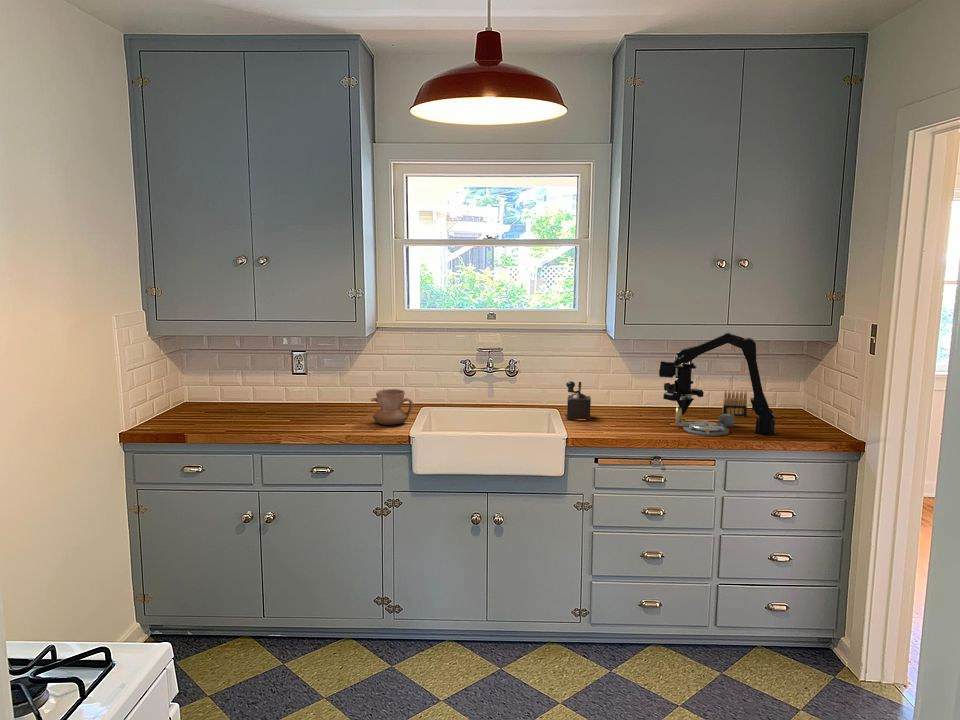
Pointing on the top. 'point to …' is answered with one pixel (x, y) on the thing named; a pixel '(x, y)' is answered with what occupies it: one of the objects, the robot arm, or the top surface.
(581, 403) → the pepper mill
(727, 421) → the link block
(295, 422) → the top surface
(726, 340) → the robot arm
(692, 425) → the grey crank mechanism
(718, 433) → the index plate
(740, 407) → the ammunition clip
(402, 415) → the ceramic jug
